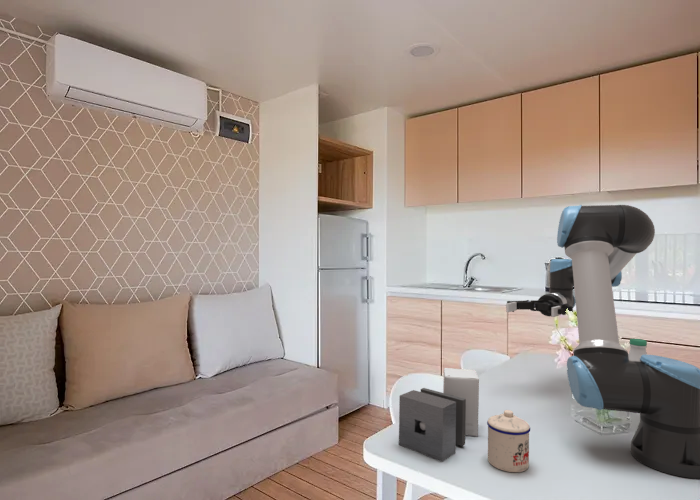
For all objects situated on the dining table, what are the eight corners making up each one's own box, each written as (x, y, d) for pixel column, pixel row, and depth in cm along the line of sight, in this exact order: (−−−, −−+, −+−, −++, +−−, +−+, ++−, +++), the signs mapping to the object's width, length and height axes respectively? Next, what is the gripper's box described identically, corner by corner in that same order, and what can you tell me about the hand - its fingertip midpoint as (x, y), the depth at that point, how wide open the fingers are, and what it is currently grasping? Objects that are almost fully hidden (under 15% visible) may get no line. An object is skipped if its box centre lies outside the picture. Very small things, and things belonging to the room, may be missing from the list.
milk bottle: (656, 402, 136) (657, 340, 136) (646, 407, 132) (646, 343, 132) (629, 396, 142) (630, 336, 142) (619, 400, 138) (619, 338, 138)
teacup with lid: (520, 478, 89) (521, 422, 89) (479, 463, 95) (480, 411, 95) (540, 458, 97) (541, 407, 97) (501, 446, 104) (502, 398, 104)
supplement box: (479, 437, 108) (479, 378, 108) (443, 433, 110) (443, 376, 110) (475, 423, 117) (476, 369, 117) (442, 420, 119) (443, 367, 119)
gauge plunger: (465, 444, 103) (465, 399, 103) (445, 457, 96) (445, 409, 96) (415, 427, 113) (415, 385, 113) (393, 438, 106) (394, 394, 106)
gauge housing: (473, 440, 106) (473, 392, 106) (442, 461, 95) (442, 408, 95) (422, 423, 116) (423, 380, 116) (389, 441, 105) (389, 392, 105)
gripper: (592, 319, 137) (573, 327, 121) (515, 311, 154) (490, 317, 138) (592, 296, 137) (573, 301, 121) (515, 291, 154) (490, 294, 138)
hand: (529, 310), depth 130 cm, fingers open, 13 cm apart
